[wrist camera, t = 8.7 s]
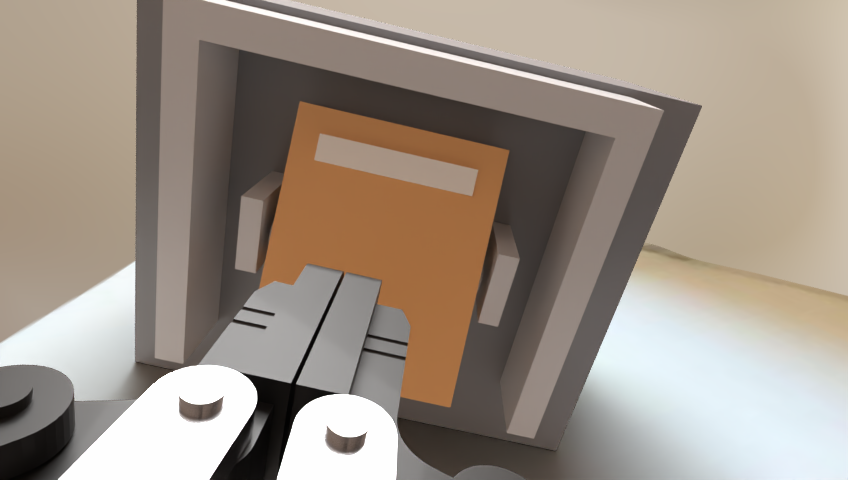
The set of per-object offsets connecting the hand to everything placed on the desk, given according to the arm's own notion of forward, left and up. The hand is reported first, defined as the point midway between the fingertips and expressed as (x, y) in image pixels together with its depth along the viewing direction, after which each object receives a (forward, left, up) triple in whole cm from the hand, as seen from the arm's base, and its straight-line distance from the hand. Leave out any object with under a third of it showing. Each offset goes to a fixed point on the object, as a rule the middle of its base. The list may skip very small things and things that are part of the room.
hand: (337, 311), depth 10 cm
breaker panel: (0, -15, -13) cm, 20 cm away
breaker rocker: (0, -8, -8) cm, 11 cm away
